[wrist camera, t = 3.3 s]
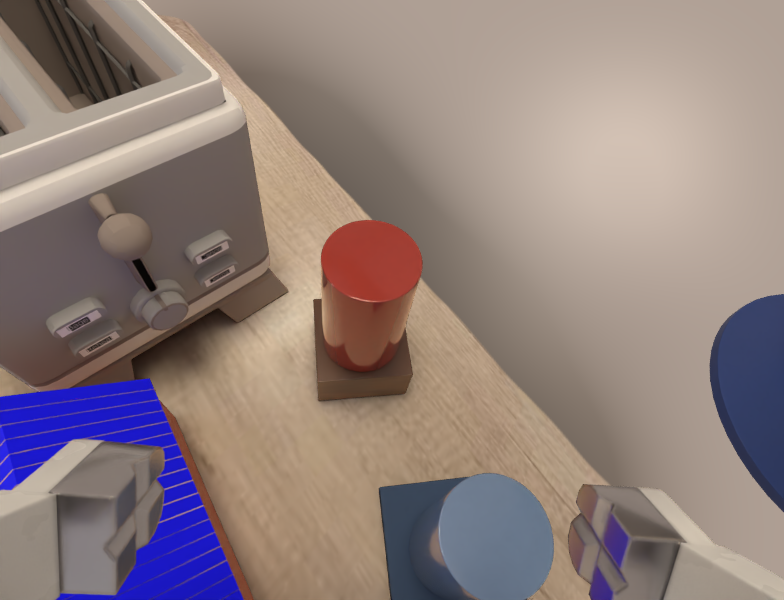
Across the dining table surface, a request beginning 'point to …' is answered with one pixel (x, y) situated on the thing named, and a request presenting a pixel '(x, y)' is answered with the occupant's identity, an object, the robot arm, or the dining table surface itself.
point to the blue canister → (483, 541)
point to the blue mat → (407, 532)
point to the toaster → (117, 192)
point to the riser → (359, 384)
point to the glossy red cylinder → (367, 292)
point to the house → (179, 479)
